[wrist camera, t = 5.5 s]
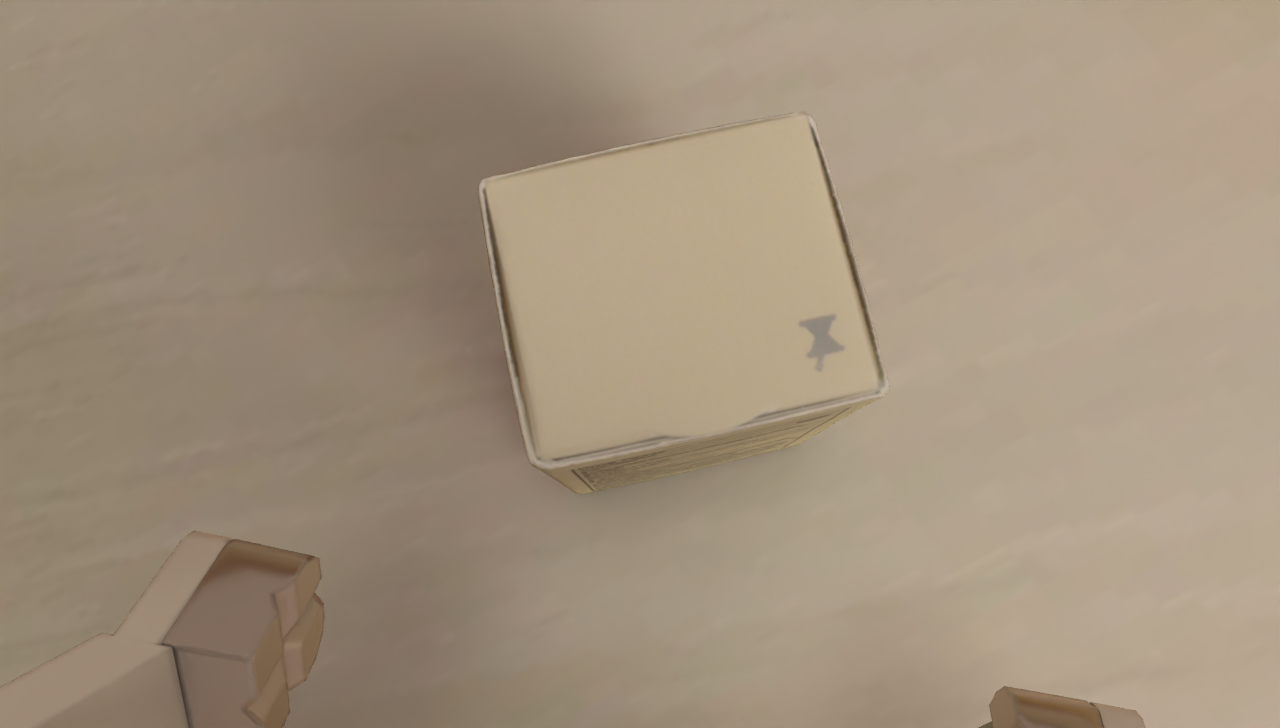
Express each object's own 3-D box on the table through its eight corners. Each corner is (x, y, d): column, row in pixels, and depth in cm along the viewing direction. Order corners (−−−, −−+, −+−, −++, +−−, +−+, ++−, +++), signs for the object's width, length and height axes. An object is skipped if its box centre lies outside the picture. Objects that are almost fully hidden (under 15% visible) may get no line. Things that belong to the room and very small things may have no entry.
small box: (756, 254, 22) (821, 96, 14) (804, 448, 21) (902, 394, 14) (526, 303, 22) (466, 170, 14) (567, 501, 21) (528, 475, 13)
